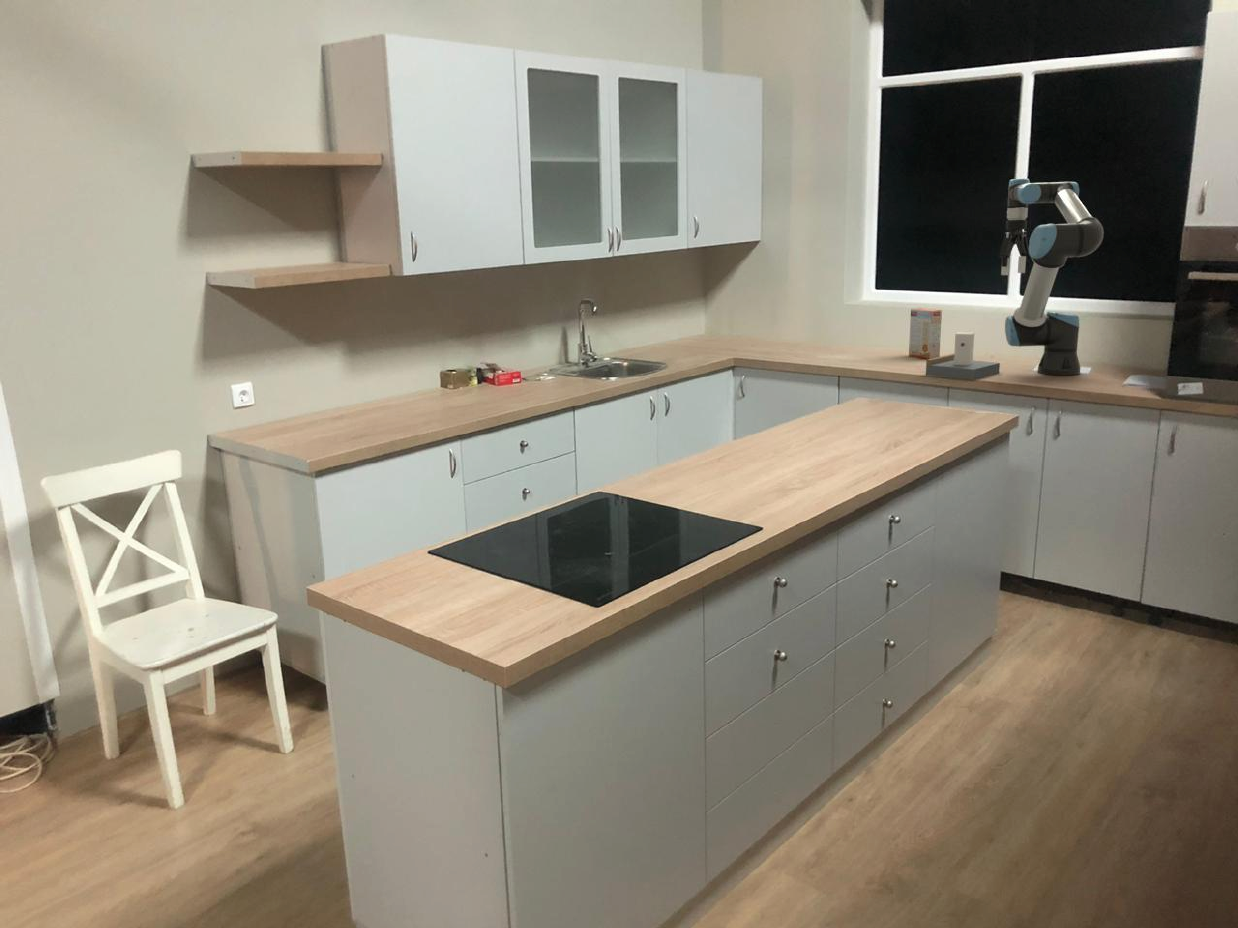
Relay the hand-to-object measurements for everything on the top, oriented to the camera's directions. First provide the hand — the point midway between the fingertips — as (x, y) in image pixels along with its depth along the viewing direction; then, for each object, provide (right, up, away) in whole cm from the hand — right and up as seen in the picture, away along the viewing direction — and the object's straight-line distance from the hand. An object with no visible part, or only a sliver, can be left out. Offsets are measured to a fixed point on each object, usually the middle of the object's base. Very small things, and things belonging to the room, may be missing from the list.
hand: (1013, 274), depth 392 cm
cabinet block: (-23, -37, -9) cm, 44 cm away
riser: (-23, -41, -8) cm, 47 cm away
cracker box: (-24, -30, +37) cm, 53 cm away
